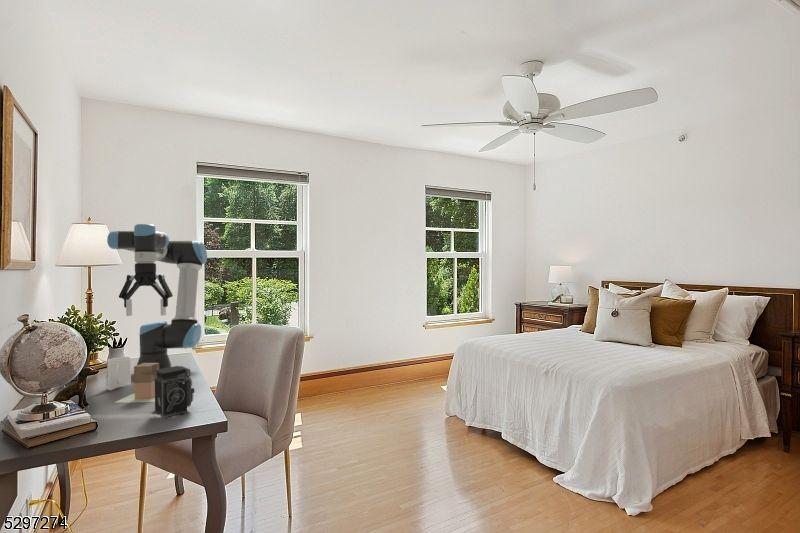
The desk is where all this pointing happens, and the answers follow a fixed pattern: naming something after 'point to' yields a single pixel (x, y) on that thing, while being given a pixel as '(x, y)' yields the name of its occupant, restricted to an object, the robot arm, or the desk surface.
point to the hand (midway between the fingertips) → (146, 315)
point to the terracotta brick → (145, 390)
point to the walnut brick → (145, 372)
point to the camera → (173, 390)
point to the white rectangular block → (119, 372)
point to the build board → (132, 399)
